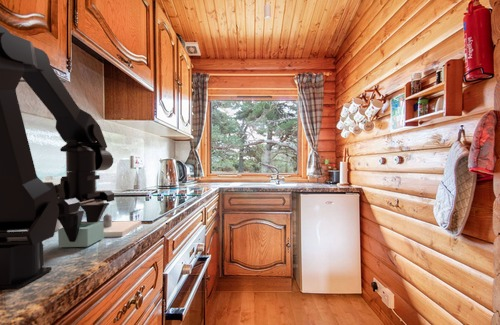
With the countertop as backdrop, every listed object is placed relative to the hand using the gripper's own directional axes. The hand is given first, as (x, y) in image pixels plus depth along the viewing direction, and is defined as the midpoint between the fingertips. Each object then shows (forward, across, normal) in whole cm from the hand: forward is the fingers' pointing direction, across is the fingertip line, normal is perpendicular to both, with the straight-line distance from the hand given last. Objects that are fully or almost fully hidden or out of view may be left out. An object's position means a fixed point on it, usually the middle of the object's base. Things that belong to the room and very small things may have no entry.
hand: (82, 237), depth 58 cm
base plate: (+2, -11, 0) cm, 11 cm away
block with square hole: (+1, 0, 0) cm, 1 cm away
